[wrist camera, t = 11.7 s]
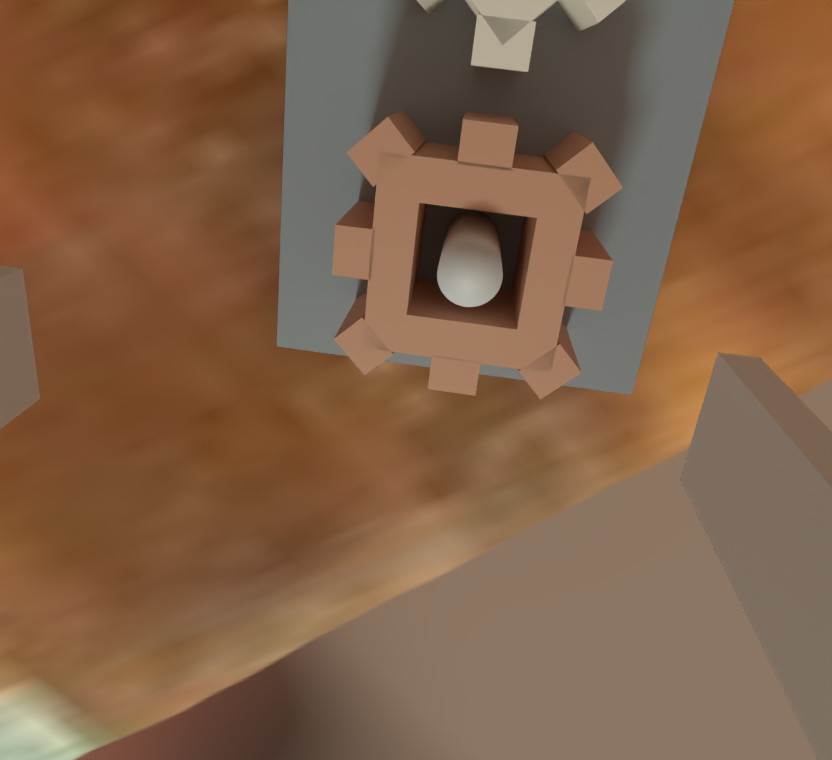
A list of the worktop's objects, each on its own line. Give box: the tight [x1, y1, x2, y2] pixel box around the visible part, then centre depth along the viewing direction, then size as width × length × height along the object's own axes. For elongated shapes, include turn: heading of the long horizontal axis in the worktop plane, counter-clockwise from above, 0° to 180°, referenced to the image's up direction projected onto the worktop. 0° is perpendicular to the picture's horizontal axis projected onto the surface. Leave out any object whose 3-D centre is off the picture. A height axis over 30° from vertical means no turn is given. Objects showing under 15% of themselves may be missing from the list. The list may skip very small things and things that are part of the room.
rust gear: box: [332, 110, 623, 399], centre depth 27 cm, size 10×10×5 cm
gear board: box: [277, 0, 734, 395], centre depth 25 cm, size 24×16×8 cm, turn 174°
